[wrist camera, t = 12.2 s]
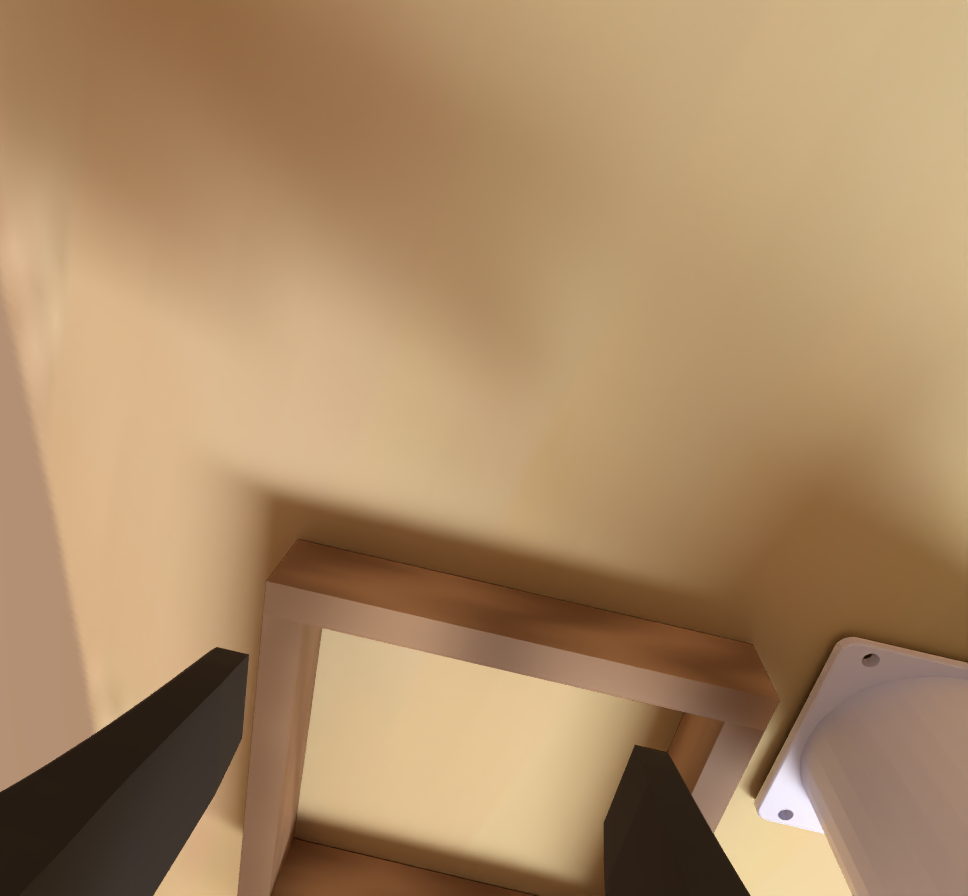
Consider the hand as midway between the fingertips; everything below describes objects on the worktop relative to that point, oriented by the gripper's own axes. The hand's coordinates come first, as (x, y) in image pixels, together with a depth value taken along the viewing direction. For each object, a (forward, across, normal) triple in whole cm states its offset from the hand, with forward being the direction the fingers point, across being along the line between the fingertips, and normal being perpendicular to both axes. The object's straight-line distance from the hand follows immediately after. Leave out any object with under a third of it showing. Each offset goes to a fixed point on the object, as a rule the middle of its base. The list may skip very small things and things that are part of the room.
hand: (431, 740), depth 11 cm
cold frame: (+9, -2, +10) cm, 14 cm away
